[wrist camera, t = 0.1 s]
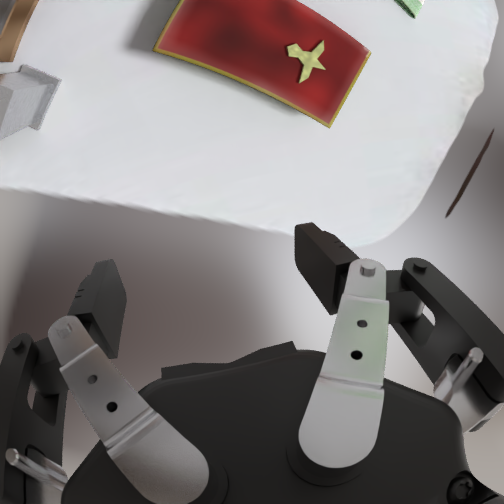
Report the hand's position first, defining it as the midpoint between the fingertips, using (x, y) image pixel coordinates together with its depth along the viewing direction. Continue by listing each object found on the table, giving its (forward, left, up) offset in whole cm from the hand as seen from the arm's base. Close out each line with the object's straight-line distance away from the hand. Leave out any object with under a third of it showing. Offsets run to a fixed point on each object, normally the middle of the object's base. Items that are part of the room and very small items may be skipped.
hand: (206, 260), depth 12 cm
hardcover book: (-14, +3, -23) cm, 27 cm away
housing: (0, -21, -22) cm, 31 cm away
